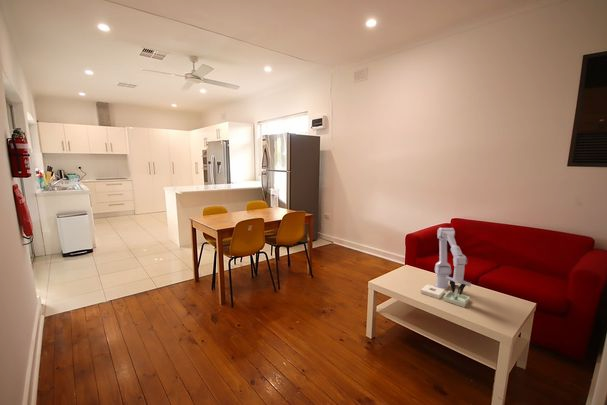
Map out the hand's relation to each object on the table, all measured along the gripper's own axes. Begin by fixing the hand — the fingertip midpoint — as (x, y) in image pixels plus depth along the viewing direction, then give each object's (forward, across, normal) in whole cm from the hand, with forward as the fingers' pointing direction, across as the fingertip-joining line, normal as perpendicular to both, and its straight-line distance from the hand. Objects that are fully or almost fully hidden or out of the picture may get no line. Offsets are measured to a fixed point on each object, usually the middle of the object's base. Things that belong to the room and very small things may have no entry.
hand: (456, 293), depth 180 cm
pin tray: (+5, 0, 0) cm, 5 cm away
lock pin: (+4, -1, 0) cm, 4 cm away
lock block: (+5, -15, 0) cm, 16 cm away
